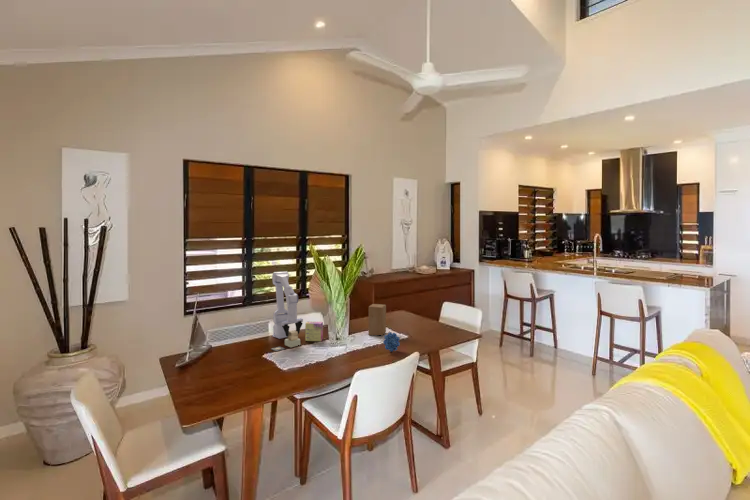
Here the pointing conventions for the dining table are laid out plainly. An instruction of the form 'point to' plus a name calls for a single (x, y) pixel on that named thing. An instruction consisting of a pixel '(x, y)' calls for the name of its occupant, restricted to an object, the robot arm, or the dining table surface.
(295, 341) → the grey-green pedestal
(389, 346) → the grapes
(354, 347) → the dining table surface
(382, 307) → the wooden block
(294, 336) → the birch block
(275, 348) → the tile
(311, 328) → the box
